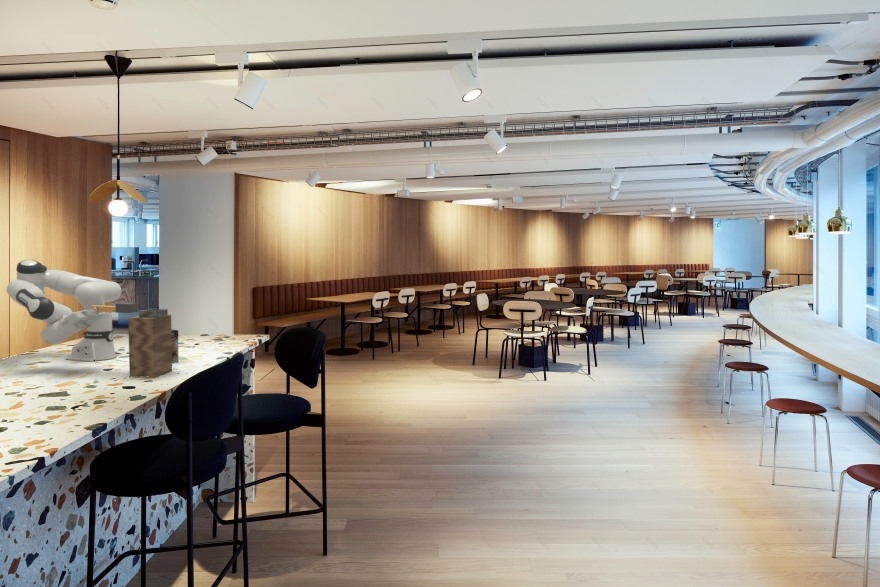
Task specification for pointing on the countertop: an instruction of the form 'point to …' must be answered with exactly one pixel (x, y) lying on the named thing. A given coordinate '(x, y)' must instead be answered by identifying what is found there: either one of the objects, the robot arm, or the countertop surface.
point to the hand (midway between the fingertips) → (100, 307)
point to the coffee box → (174, 346)
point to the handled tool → (117, 308)
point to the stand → (150, 343)
